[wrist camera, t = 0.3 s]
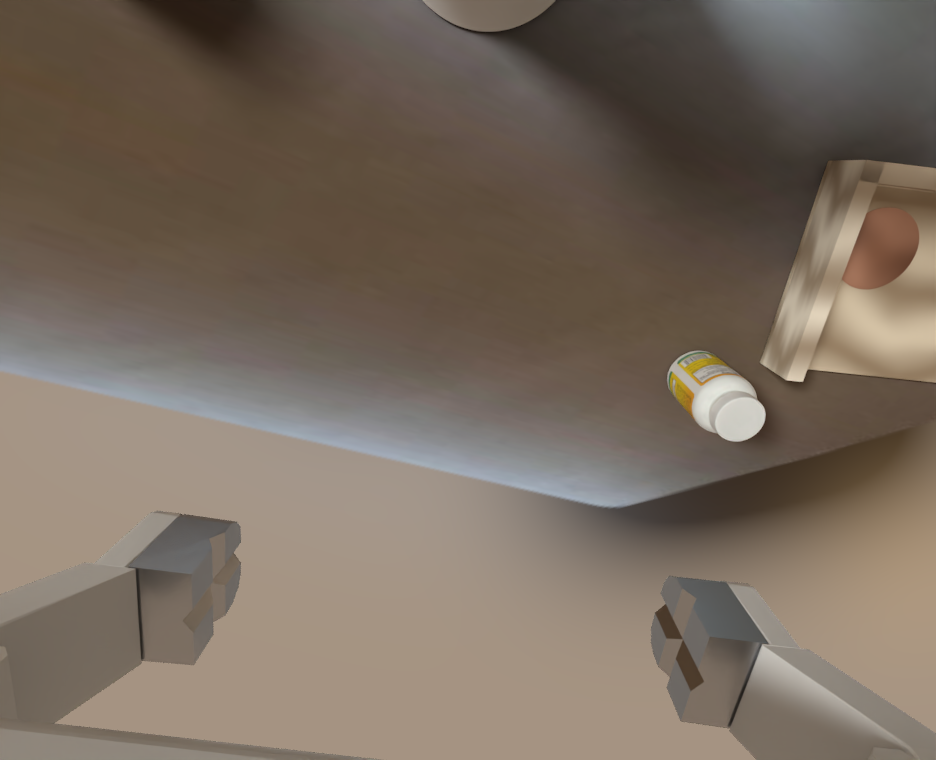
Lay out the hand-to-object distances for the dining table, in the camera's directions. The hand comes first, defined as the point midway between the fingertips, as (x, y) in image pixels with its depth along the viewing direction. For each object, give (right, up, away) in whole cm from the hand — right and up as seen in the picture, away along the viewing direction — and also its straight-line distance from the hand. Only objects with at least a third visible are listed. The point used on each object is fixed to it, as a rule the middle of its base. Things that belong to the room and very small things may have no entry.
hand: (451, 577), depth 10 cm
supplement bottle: (+22, +4, +41) cm, 47 cm away
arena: (+38, +13, +37) cm, 55 cm away
